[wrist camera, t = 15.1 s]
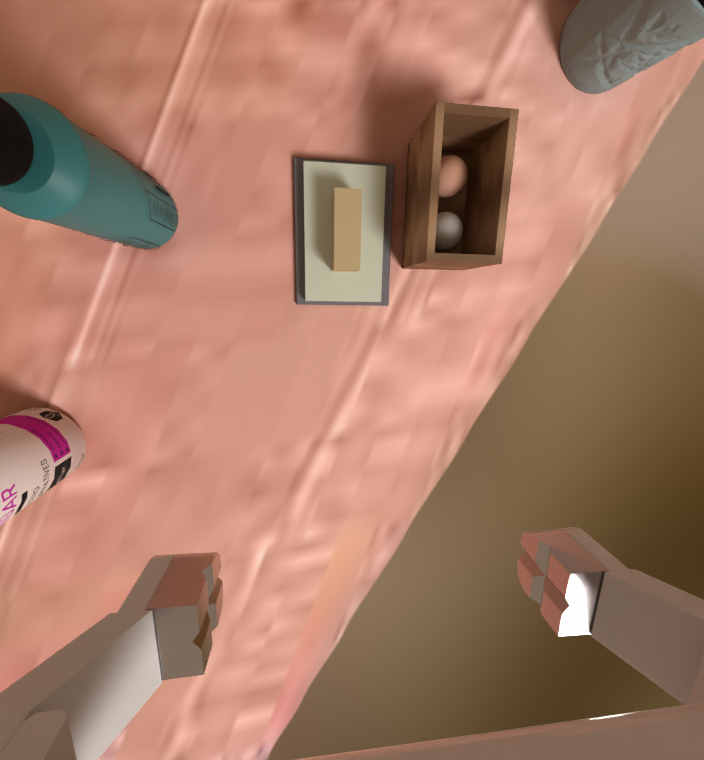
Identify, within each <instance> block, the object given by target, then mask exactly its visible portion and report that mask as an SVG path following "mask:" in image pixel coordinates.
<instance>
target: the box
mask: <svg viewBox="0 0 704 760" xmlns="http://www.w3.org/2000/svg"><path fill="white" fill-rule="evenodd" d="M518 112H519V109H510V108H499V107H487V106H476V105H465V104H454V103H443V102H436V103H435V105H434V106H433V108H432V109H431V111H430V112H429V114H428V116H427V117H426V119H425V120H424V122H423V123H422V125H421V126H420V128H419V129H418V131H417V132H416V134H415V135H414V137H413V138H412V140H411V141H410V143H409V145H408V162H407V183H406V203H405V224H404V245H403V265H402V268H405V269H440V270H467V269H473V268H479V267H484V266H490V265H496V264H502V255H503V246H504V238H505V229H506V220H507V211H508V202H509V193H510V184H511V175H512V166H513V157H514V148H515V139H516V130H517V121H518ZM447 155H455V156H458V157H460V158H461V159H462V160H463V161H464V163H465V164H466V167H467V180H466V183H465V185H464V187H463V188H462V189H461V191H460V192H458V193H457V194H456V195H454V196H452V197H440V196H439V181H440V167H441V158H442V157H444V156H447ZM441 212H451V213H454V214H455V215H457V216H458V217H459V219H460V220H461V222H462V226H463V232H462V236H461V238H460V240H459V242H458V243H457V244H456V245H455V246H454V247H452V248H450V249H448V250H438V249H435V240H436V225H437V214H438V213H441Z"/></svg>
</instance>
